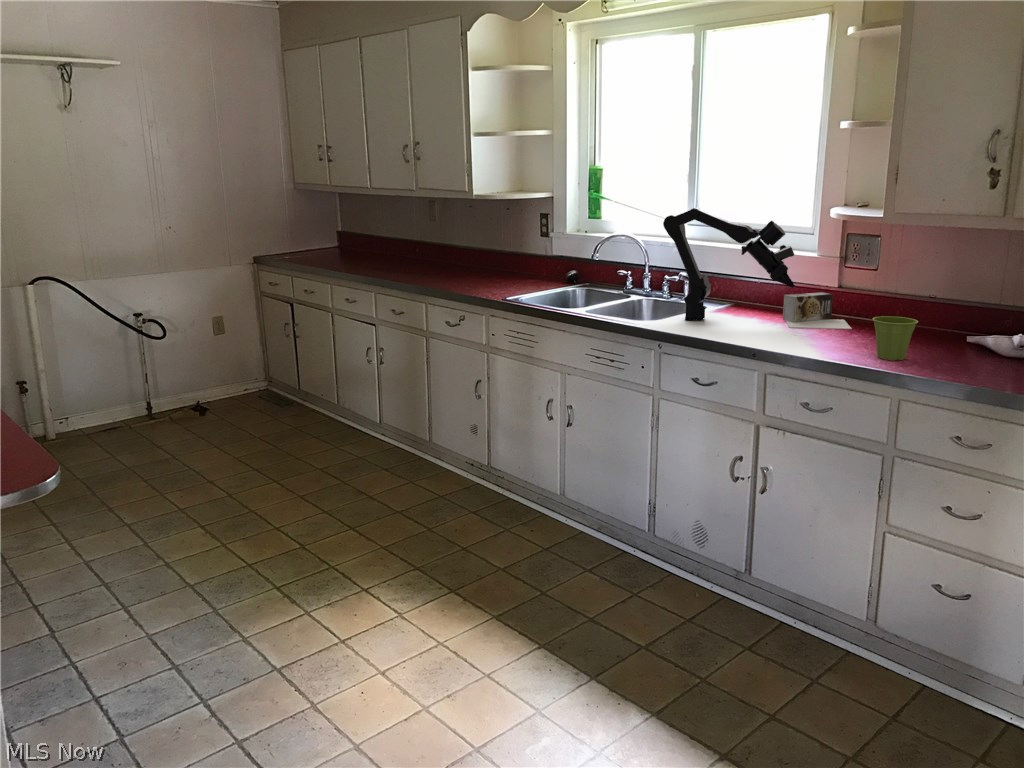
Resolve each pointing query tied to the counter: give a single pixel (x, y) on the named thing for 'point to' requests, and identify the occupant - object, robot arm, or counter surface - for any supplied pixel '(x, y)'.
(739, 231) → the robot arm
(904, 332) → the plant pot
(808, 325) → the mat
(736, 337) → the counter surface
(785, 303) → the cookie box
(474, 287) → the counter surface
